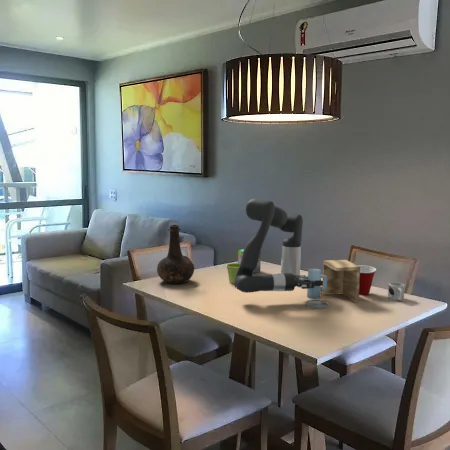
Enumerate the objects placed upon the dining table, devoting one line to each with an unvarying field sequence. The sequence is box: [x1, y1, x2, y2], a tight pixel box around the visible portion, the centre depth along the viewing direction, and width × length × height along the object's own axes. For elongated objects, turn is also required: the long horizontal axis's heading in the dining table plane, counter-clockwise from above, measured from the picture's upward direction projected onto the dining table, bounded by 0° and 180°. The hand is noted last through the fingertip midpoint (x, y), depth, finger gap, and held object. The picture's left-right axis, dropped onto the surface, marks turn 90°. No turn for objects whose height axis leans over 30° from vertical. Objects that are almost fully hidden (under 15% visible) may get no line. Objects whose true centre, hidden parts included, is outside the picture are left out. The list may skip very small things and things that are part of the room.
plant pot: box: [225, 262, 240, 285], centre depth 242 cm, size 9×9×9 cm
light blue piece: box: [306, 268, 327, 300], centre depth 213 cm, size 8×6×12 cm
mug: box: [387, 281, 406, 302], centre depth 216 cm, size 10×7×7 cm
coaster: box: [306, 300, 330, 310], centre depth 207 cm, size 9×9×1 cm
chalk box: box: [237, 248, 262, 274], centre depth 266 cm, size 9×9×15 cm
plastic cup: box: [358, 264, 377, 296], centre depth 225 cm, size 11×11×12 cm
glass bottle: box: [156, 224, 195, 285], centre depth 241 cm, size 18×18×28 cm
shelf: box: [321, 259, 360, 303], centre depth 218 cm, size 11×14×15 cm
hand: (319, 281), depth 213 cm, fingers closed on light blue piece, 5 cm apart
